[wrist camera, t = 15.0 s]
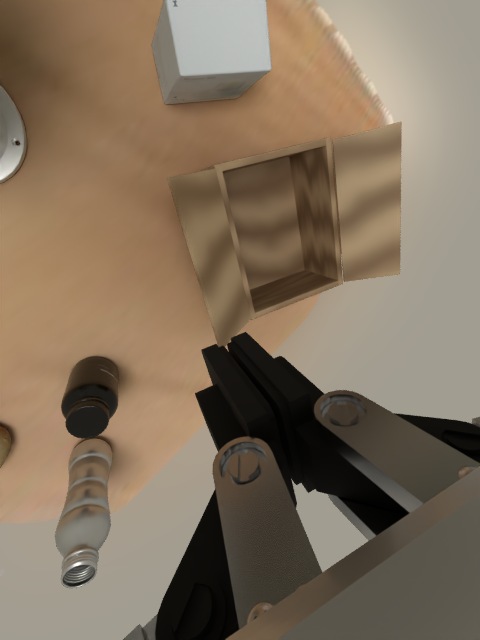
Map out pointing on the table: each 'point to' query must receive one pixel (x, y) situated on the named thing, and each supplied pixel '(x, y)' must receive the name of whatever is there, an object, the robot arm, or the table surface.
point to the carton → (283, 223)
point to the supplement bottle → (90, 397)
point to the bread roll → (4, 444)
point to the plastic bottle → (84, 512)
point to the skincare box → (210, 48)
